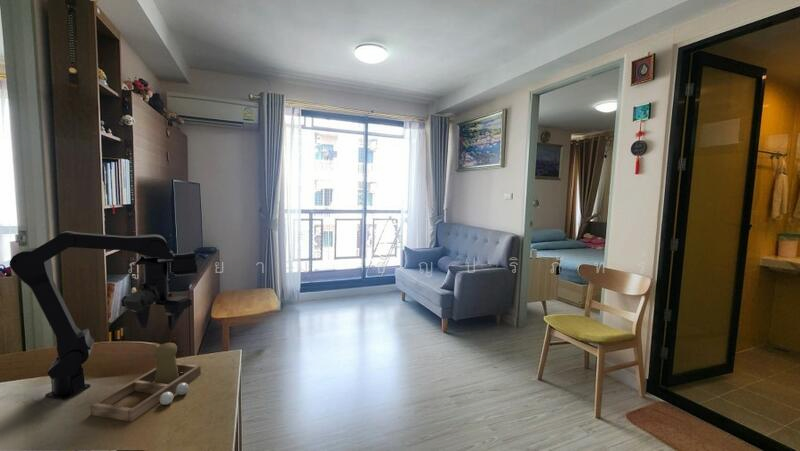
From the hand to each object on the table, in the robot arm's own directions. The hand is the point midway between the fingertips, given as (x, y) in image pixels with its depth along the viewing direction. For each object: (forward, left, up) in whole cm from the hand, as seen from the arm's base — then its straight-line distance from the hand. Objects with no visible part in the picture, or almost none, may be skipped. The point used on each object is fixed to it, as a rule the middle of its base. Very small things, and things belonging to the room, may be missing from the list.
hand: (157, 329), depth 102 cm
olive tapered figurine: (+7, -4, -13) cm, 15 cm away
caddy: (+7, -10, -13) cm, 18 cm away
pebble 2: (+15, -9, -13) cm, 22 cm away
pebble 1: (+15, -13, -13) cm, 24 cm away
